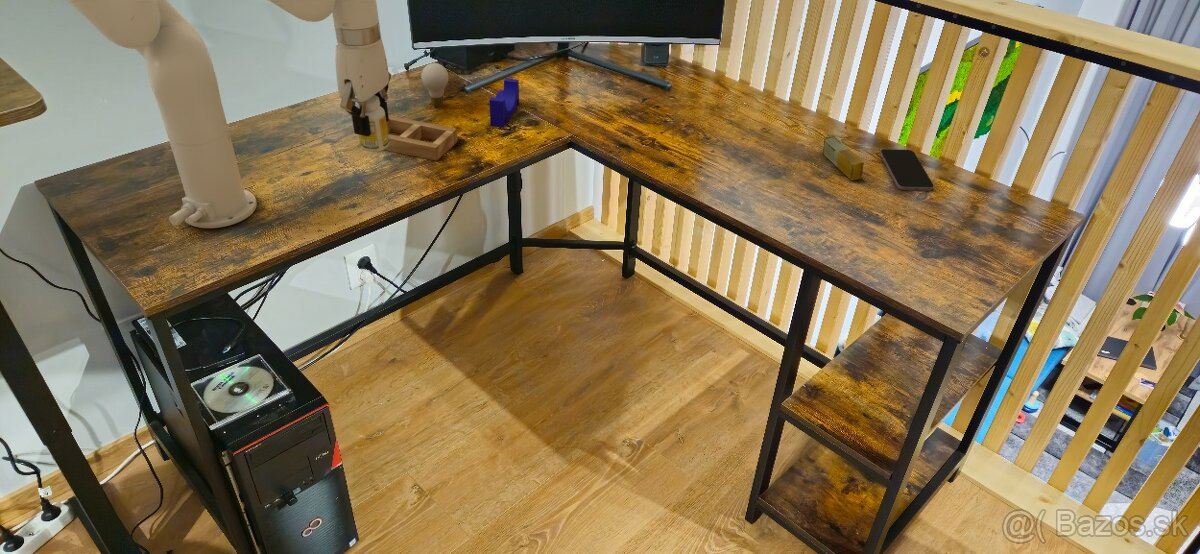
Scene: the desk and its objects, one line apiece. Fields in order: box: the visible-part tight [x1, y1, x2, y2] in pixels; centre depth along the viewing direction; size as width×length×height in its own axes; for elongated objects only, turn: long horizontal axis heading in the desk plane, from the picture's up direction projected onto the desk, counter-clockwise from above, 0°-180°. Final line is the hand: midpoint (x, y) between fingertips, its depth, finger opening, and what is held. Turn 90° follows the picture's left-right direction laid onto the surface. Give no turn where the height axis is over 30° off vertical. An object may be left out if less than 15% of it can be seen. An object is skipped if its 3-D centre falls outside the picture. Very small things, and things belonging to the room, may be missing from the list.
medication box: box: [822, 135, 865, 182], centre depth 172 cm, size 12×3×4 cm, turn 16°
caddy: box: [383, 114, 459, 162], centre depth 174 cm, size 9×17×3 cm, turn 71°
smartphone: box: [879, 148, 935, 192], centre depth 172 cm, size 7×1×15 cm
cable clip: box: [488, 77, 520, 128], centre depth 186 cm, size 12×4×6 cm, turn 168°
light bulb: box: [420, 62, 449, 108], centre depth 187 cm, size 6×6×10 cm
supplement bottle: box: [356, 95, 389, 153], centre depth 156 cm, size 5×5×10 cm
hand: (371, 126), depth 157 cm, fingers closed on supplement bottle, 5 cm apart
